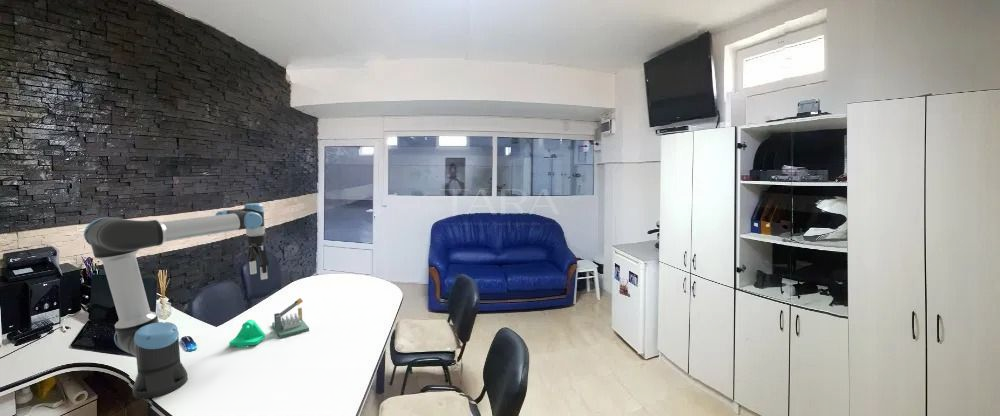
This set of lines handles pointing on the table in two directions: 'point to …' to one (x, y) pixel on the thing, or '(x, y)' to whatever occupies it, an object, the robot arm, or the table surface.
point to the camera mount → (248, 335)
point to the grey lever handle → (290, 307)
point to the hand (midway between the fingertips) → (258, 276)
